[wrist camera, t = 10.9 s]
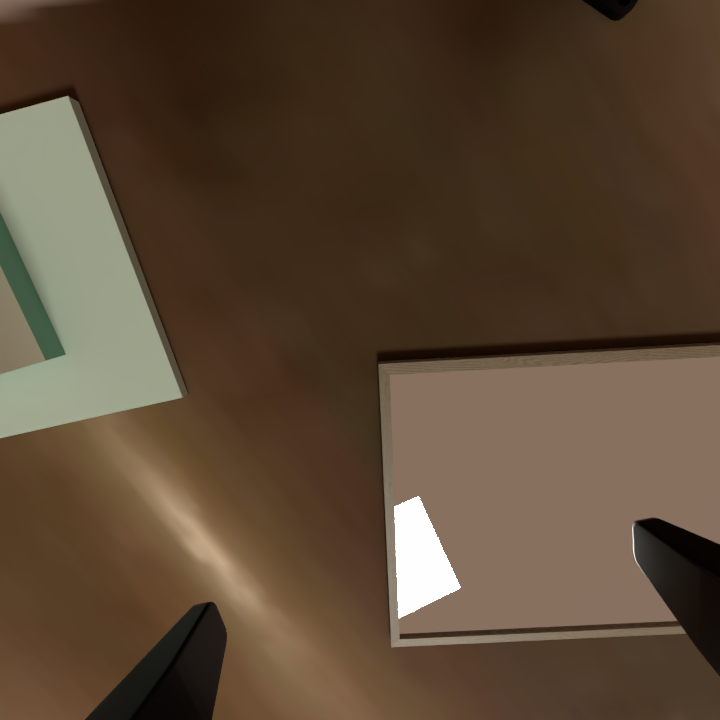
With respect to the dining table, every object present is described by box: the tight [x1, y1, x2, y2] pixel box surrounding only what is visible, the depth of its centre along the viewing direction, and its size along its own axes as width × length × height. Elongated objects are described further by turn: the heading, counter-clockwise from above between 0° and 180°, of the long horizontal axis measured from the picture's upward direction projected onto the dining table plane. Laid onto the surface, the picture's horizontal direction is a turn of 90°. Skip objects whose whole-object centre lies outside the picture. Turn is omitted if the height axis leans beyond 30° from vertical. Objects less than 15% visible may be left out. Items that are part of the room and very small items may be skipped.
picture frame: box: [378, 342, 720, 647], centre depth 21 cm, size 19×1×28 cm
